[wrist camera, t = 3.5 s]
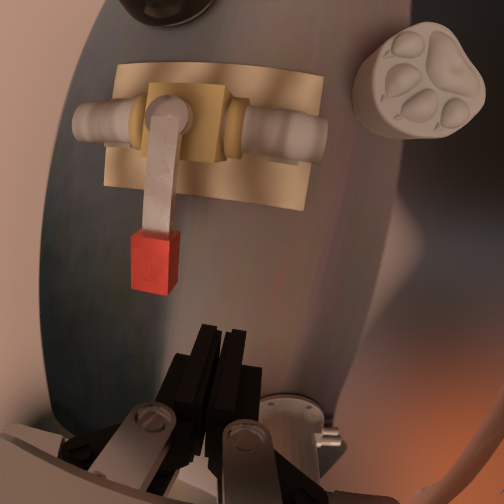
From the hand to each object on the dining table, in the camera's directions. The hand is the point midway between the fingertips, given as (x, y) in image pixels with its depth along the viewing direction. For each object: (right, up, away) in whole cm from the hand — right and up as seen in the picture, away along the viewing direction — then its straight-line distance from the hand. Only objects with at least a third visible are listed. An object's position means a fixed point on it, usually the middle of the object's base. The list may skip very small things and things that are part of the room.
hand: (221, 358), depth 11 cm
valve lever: (-5, +8, +10) cm, 14 cm away
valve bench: (-3, +17, +19) cm, 25 cm away
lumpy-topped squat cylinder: (+17, +21, +16) cm, 32 cm away
